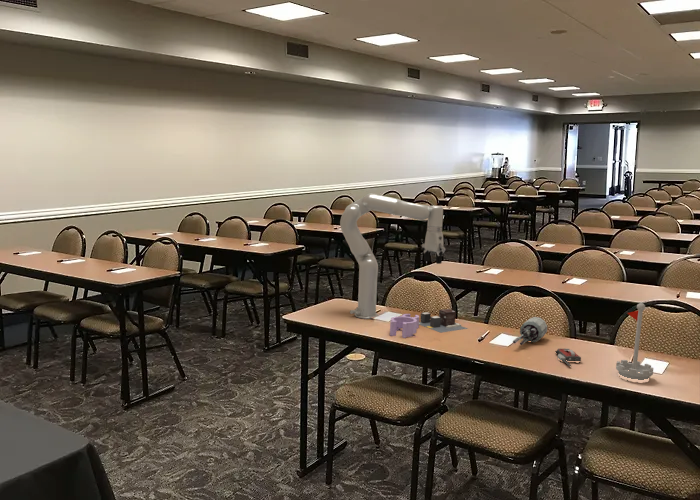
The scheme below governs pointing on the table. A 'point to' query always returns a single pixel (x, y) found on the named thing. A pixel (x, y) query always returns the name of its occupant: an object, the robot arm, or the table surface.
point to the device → (532, 330)
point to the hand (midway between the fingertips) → (432, 262)
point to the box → (447, 317)
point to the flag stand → (635, 353)
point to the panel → (443, 327)
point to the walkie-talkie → (567, 355)
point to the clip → (404, 325)
